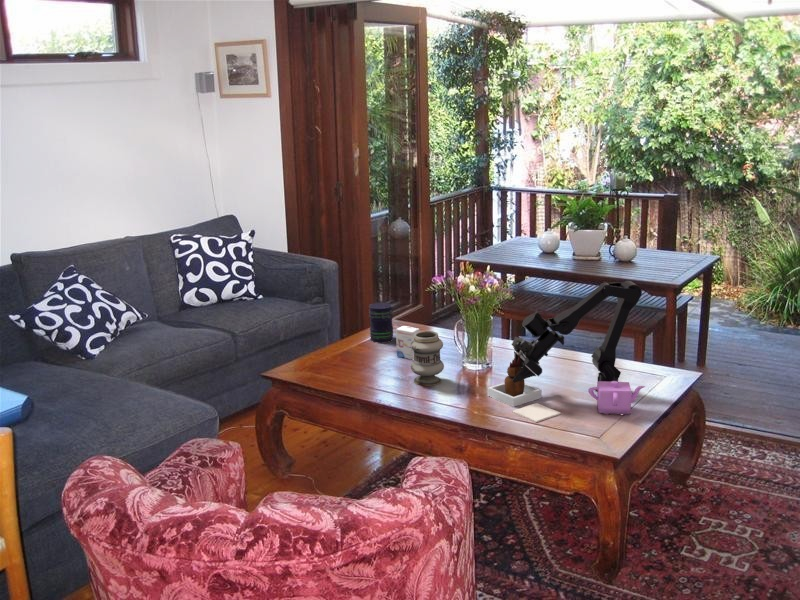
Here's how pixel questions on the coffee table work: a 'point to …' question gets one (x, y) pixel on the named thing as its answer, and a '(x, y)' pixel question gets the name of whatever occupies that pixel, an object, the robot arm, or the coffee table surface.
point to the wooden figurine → (512, 371)
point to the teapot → (614, 397)
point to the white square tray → (529, 395)
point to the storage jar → (381, 322)
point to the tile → (536, 412)
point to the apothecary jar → (427, 358)
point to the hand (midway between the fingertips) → (510, 377)
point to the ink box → (405, 341)
